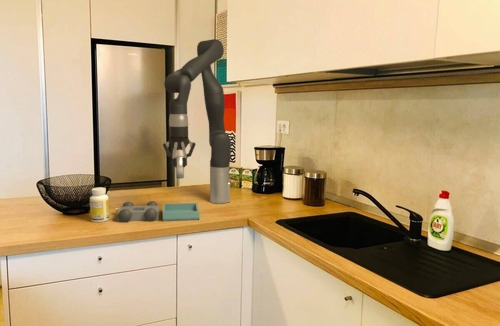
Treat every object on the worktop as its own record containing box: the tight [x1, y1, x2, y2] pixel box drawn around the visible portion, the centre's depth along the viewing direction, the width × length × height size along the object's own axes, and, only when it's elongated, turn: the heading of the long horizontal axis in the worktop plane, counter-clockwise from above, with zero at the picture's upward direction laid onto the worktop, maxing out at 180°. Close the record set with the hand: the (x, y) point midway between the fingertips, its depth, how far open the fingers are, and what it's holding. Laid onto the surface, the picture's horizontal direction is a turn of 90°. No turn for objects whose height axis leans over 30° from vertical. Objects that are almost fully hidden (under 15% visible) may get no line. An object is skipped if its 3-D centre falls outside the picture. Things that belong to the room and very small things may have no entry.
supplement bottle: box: [89, 186, 110, 223], centre depth 164 cm, size 7×7×13 cm
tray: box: [162, 202, 200, 222], centre depth 173 cm, size 15×15×4 cm
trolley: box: [114, 200, 160, 223], centre depth 169 cm, size 18×14×5 cm
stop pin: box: [175, 155, 185, 180], centre depth 170 cm, size 3×3×9 cm
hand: (179, 166), depth 170 cm, fingers closed on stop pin, 3 cm apart
